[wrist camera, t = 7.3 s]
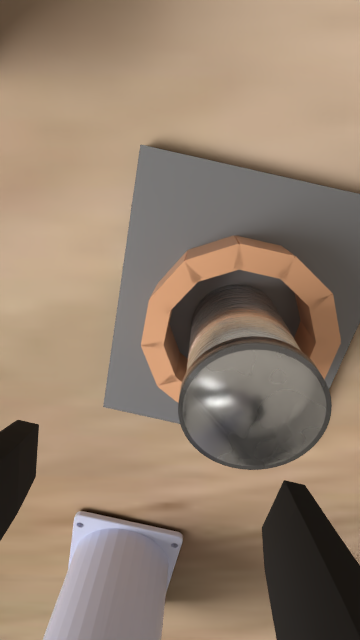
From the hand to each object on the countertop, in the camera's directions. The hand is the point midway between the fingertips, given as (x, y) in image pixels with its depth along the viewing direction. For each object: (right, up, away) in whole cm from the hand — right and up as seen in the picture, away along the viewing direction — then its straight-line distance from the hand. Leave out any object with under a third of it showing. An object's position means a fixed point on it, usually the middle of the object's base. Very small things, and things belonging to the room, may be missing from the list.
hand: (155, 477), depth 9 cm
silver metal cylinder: (+3, +4, +7) cm, 9 cm away
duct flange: (+3, +5, +8) cm, 10 cm away
